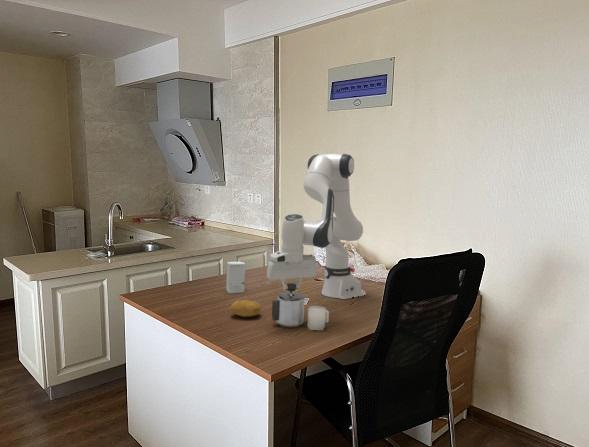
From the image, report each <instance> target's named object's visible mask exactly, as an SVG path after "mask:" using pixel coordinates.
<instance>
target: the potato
mask: <svg viewBox="0 0 589 447" xmlns="http://www.w3.org/2000/svg"><path fill="white" fill-rule="evenodd" d="M230 310H231V312H232V313H234V314H235V315H237V316H239V317H242V318H251V317H255V316H257V315H258V314H260V313H261V310H262V305H261V304H260V303H259V302H258V301H254V300H249V299H246V300H245V299H244V300H241V299H240V300H239V299H238V300H236V301H234V302H233V303H231V305H230Z"/></svg>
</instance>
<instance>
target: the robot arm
mask: <svg viewBox="0 0 589 447" xmlns="http://www.w3.org/2000/svg"><path fill="white" fill-rule="evenodd" d="M354 170H355V160H354V158H353V157H352V156H351V155H350V154H348V153H343V154H342V153H332V152H331V153H326V154H325V153H324V154H323V153H322V154H318V153H317V154H313V155H311V157H310V158H309V159H308V162H307V172H306V174H305V177H304V180H303V190H304V192H305V193H306V194H307V195H308V197H309V198H311V199H313V200H315V201H316V202H319V204H322V210H321V211H322V212H321V216H320V217H319V218H318V219H317V220H316V221H315V222H314V221H306V220H304V217H303V215H301V214H296V213H295V214H294V213H292V214H288V215H286V216H285V217H283V222H282V228H281V229H282V230H281V239H282V244H281V249H280V250H277V251H276V252H275V251H274V252H273V253H270V254H269V259H270V260H269V261H268V264H267V268H266V277H267V279H269V281H280V282H281V284H282V289H283V291H288V285H287V283H285V282H286V281H287V280H293V279H297V281H296V283H295V284H296V290H299V289H300V285H301V284H302V282H303V279H305V278H307V279H308V278H309V279H310V278H314V277H315V276H316V275H317V269H316V262H317V261H316V260H317V258H316V256H315V255H313V254H312V253H311V254H304V246H310V247H311V246H313V247H317V248H319V249H325V266H324V282H323V285H322V286H323V287H322V290H321V295H322V296H325V297H328V298H334V299H341V300H347V299H352V297H354V298H357V297H358V296H359V297H363V296H364V295H365V296H366V295H367V293H366V291H365V290H364V289H362V284H361V281H360V280H359V279H357V278H356V276H354V275H352V274H351V273H355V271H356V270H355V268H353V267H349V251H348V250H347V249H348V248H346V247H344V245H343V244H342V242H341V241H347V242H354V241H358V240H360V239H361V237H362V236H363V234H364V227H363V224H362V222H361V221H360V220H359V219H358V218H357V217H356V216H355V214H354V211H353V210H352V207H351V196H350V179H349V177H351V175H353V173H354ZM334 215H335V216H334ZM359 297H358V298H359Z"/></svg>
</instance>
